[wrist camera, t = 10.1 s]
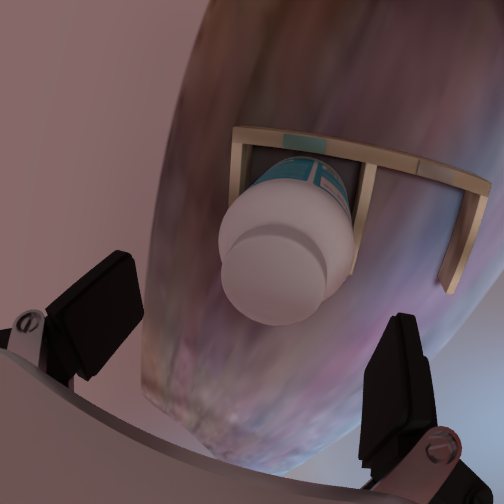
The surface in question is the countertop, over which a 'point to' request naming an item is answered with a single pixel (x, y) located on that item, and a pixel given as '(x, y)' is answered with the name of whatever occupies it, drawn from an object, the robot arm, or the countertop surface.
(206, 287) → the countertop surface
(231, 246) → the pill bottle
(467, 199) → the rack
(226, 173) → the countertop surface
